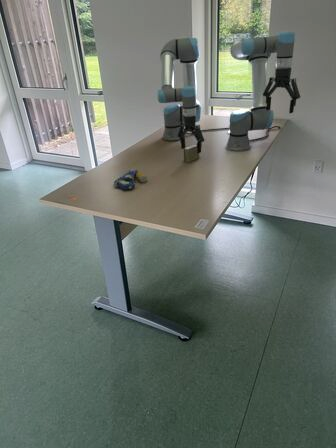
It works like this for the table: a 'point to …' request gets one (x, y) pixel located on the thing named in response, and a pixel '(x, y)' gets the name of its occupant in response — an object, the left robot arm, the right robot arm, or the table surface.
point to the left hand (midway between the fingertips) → (191, 150)
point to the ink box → (190, 153)
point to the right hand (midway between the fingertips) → (279, 111)
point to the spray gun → (129, 179)
